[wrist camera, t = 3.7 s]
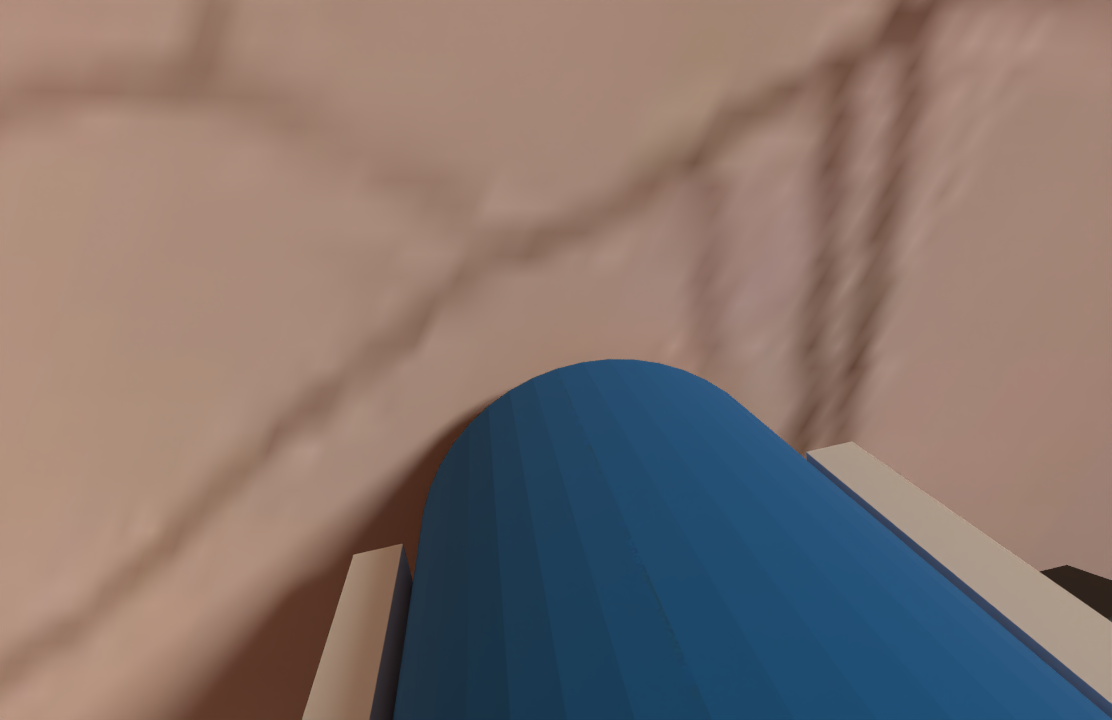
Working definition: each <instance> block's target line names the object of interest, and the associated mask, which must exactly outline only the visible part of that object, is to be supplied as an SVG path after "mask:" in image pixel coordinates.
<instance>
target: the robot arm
mask: <svg viewBox="0 0 1112 720" xmlns="http://www.w3.org/2000/svg"><path fill="white" fill-rule="evenodd" d="M806 455H807V461H808V462H809V463H811V464H812V465H813V466H814V467H815V468H816V469H818V470H819V471H820V472H821V473H822V474H824V475H825V476H826V477H827V478H828V479H829V480H831V481H832V482H833V483H834V484H835V485H837V486H838V487H839V488H840V489H841V490H842V491H844V492H845V493H846V494H847V495H848V496H850V497H851V498H852V499H853V500H854V501H855V502H857V503H858V504H859V505H860V506H861V507H862V508H864V509H865V510H866V511H867V512H868V513H870V514H871V515H872V516H873V517H874V518H875V519H877V520H878V521H879V522H880V523H881V524H883V525H884V526H885V527H886V528H887V529H888V530H890V531H891V532H892V533H893V534H894V535H896V536H897V537H898V538H899V539H900V540H901V541H903V542H904V543H905V544H906V545H907V546H908V547H910V548H911V549H912V550H913V551H914V552H916V553H917V554H918V555H919V556H920V557H921V558H923V559H924V560H925V561H926V562H927V563H929V564H930V565H931V566H932V567H933V568H934V569H936V570H937V571H938V572H939V573H940V574H942V575H943V576H944V577H945V578H946V579H947V580H949V581H950V582H951V583H952V584H953V585H954V586H956V587H957V588H958V589H959V590H960V591H962V592H963V593H964V594H965V595H966V596H967V597H969V598H970V599H971V600H972V601H973V602H975V603H976V604H977V605H978V606H979V607H980V608H982V609H983V610H984V611H985V612H986V613H988V614H989V615H990V616H991V617H992V618H993V619H995V620H996V621H997V622H998V623H999V624H1001V625H1002V626H1003V627H1004V628H1005V629H1006V630H1008V631H1009V632H1010V633H1011V634H1012V635H1013V636H1015V637H1016V638H1017V639H1018V640H1019V641H1021V642H1022V643H1023V644H1024V645H1025V646H1026V647H1028V648H1029V649H1030V650H1031V651H1032V652H1034V653H1035V654H1036V655H1037V656H1038V657H1039V658H1041V659H1042V660H1043V661H1044V662H1045V663H1047V664H1048V665H1049V666H1050V667H1051V668H1052V669H1054V670H1055V671H1056V672H1057V673H1058V674H1059V675H1061V676H1062V677H1063V678H1064V679H1065V680H1067V681H1068V682H1069V683H1070V684H1071V685H1072V686H1074V687H1075V688H1076V689H1077V690H1078V691H1080V692H1081V693H1082V694H1083V695H1084V696H1085V697H1087V698H1088V699H1089V700H1090V701H1091V702H1093V703H1094V704H1095V705H1096V706H1097V707H1098V708H1100V709H1101V710H1102V711H1103V712H1104V713H1105V714H1107V715H1108V716H1109V717H1110V718H1111V719H1112V580H1109V579H1106V578H1103V577H1100V576H1097V575H1094V574H1092V573H1089V572H1086V571H1083V570H1080V569H1077V568H1074V567H1071V566H1068V565H1065V566H1061V567H1057V568H1053V569H1048V570H1044V571H1040V572H1039V571H1037V570H1036V569H1035V568H1033V567H1032V566H1030V565H1029V564H1027V563H1026V562H1025V561H1023V560H1022V559H1020V558H1019V557H1017V556H1016V555H1015V554H1013V553H1012V552H1010V551H1009V550H1007V549H1006V548H1004V547H1003V546H1002V545H1000V544H999V543H997V542H996V541H994V540H993V539H992V538H990V537H989V536H987V535H986V534H984V533H983V532H981V531H980V530H979V529H977V528H976V527H974V526H973V525H971V524H970V523H969V522H967V521H966V520H964V519H963V518H961V517H960V516H958V515H957V514H956V513H954V512H953V511H951V510H950V509H948V508H947V507H946V506H944V505H943V504H941V503H940V502H938V501H937V500H935V499H934V498H933V497H931V496H930V495H928V494H927V493H925V492H924V491H923V490H921V489H920V488H918V487H917V486H915V485H914V484H913V483H911V482H910V481H908V480H907V479H905V478H904V477H902V476H901V475H900V474H898V473H897V472H895V471H894V470H892V469H891V468H890V467H888V466H887V465H885V464H884V463H882V462H881V461H879V460H878V459H877V458H875V457H874V456H872V455H871V454H869V453H868V452H867V451H865V450H864V449H862V448H861V447H859V446H858V445H856V444H855V443H854V442H848V443H843V444H839V445H835V446H830V447H826V448H821V449H817V450H813V451H808V452H806ZM412 586H413V581H412V577H411V573H410V569H409V566H408V562H407V558H406V554H405V550H404V547H403V544H399V545H394V546H390V547H385V548H381V549H377V550H372V551H368V552H363V553H359V554H354V555H353V558H352V561H351V565H350V568H349V571H348V574H347V577H346V581H345V584H344V587H343V590H342V593H341V596H340V600H339V603H338V606H337V609H336V612H335V616H334V619H333V622H332V625H331V628H330V631H329V635H328V638H327V641H326V644H325V647H324V651H323V654H322V657H321V660H320V663H319V667H318V670H317V673H316V676H315V679H314V682H313V686H312V689H311V692H310V695H309V698H308V702H307V705H306V708H305V711H304V714H303V718H302V720H393V716H394V709H395V702H396V695H397V689H398V682H399V675H400V668H401V661H402V654H403V647H404V641H405V634H406V627H407V620H408V613H409V606H410V599H411V593H412Z"/></svg>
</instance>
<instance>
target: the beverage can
mask: <svg viewBox="0 0 1112 720" xmlns="http://www.w3.org/2000/svg"><path fill="white" fill-rule="evenodd" d="M393 720H1112V719H1111V718H1110V717H1109V716H1108V715H1107V714H1105V713H1104V712H1103V711H1102V710H1101V709H1100V708H1098V707H1097V706H1096V705H1095V704H1094V703H1093V702H1091V701H1090V700H1089V699H1088V698H1087V697H1085V696H1084V695H1083V694H1082V693H1081V692H1080V691H1078V690H1077V689H1076V688H1075V687H1074V686H1072V685H1071V684H1070V683H1069V682H1068V681H1067V680H1065V679H1064V678H1063V677H1062V676H1061V675H1059V674H1058V673H1057V672H1056V671H1055V670H1054V669H1052V668H1051V667H1050V666H1049V665H1048V664H1047V663H1045V662H1044V661H1043V660H1042V659H1041V658H1039V657H1038V656H1037V655H1036V654H1035V653H1034V652H1032V651H1031V650H1030V649H1029V648H1028V647H1026V646H1025V645H1024V644H1023V643H1022V642H1021V641H1019V640H1018V639H1017V638H1016V637H1015V636H1013V635H1012V634H1011V633H1010V632H1009V631H1008V630H1006V629H1005V628H1004V627H1003V626H1002V625H1001V624H999V623H998V622H997V621H996V620H995V619H993V618H992V617H991V616H990V615H989V614H988V613H986V612H985V611H984V610H983V609H982V608H980V607H979V606H978V605H977V604H976V603H975V602H973V601H972V600H971V599H970V598H969V597H967V596H966V595H965V594H964V593H963V592H962V591H960V590H959V589H958V588H957V587H956V586H954V585H953V584H952V583H951V582H950V581H949V580H947V579H946V578H945V577H944V576H943V575H942V574H940V573H939V572H938V571H937V570H936V569H934V568H933V567H932V566H931V565H930V564H929V563H927V562H926V561H925V560H924V559H923V558H921V557H920V556H919V555H918V554H917V553H916V552H914V551H913V550H912V549H911V548H910V547H908V546H907V545H906V544H905V543H904V542H903V541H901V540H900V539H899V538H898V537H897V536H896V535H894V534H893V533H892V532H891V531H890V530H888V529H887V528H886V527H885V526H884V525H883V524H881V523H880V522H879V521H878V520H877V519H875V518H874V517H873V516H872V515H871V514H870V513H868V512H867V511H866V510H865V509H864V508H862V507H861V506H860V505H859V504H858V503H857V502H855V501H854V500H853V499H852V498H851V497H850V496H848V495H847V494H846V493H845V492H844V491H842V490H841V489H840V488H839V487H838V486H837V485H835V484H834V483H833V482H832V481H831V480H829V479H828V478H827V477H826V476H825V475H824V474H822V473H821V472H820V471H819V470H818V469H816V468H815V467H814V466H813V465H812V464H811V463H809V462H808V461H807V460H806V459H805V458H804V457H802V456H801V455H800V454H799V453H798V452H796V451H795V450H794V449H793V448H792V447H791V446H789V445H788V444H787V443H786V442H785V441H783V440H782V439H781V438H780V437H779V436H778V435H776V434H775V433H774V432H773V431H772V430H770V429H769V428H768V427H767V426H766V425H765V424H763V423H762V422H761V421H760V420H759V419H758V418H756V417H755V416H754V415H753V414H752V413H750V412H749V411H748V410H747V409H746V408H745V407H743V406H742V405H741V404H740V403H738V402H737V401H736V400H735V399H734V398H732V397H731V396H730V395H729V394H728V393H726V392H725V391H723V390H721V389H720V388H718V387H717V386H715V385H713V384H712V383H710V382H708V381H707V380H705V379H703V378H700V377H698V376H696V375H693V374H691V373H689V372H687V371H684V370H681V369H678V368H674V367H671V366H667V365H664V364H660V363H654V362H647V361H640V360H624V359H607V360H598V361H590V362H582V363H578V364H574V365H570V366H566V367H562V368H558V369H555V370H552V371H550V372H547V373H545V374H542V375H539V376H537V377H534V378H532V379H530V380H528V381H527V382H525V383H523V384H521V385H519V386H517V387H515V388H514V389H512V390H510V391H508V392H507V393H506V394H504V395H503V396H502V397H500V398H499V399H497V400H496V401H495V402H493V403H492V404H490V405H489V406H488V407H487V408H486V409H485V410H484V411H483V412H481V413H480V414H479V415H478V416H477V417H476V418H475V419H474V420H473V421H472V422H471V423H470V424H469V425H468V426H467V427H466V429H465V430H464V431H463V432H462V434H461V435H460V436H459V437H458V438H457V440H456V441H455V442H454V443H453V445H452V446H451V448H450V450H449V451H448V453H447V455H446V456H445V458H444V459H443V461H442V463H441V464H440V466H439V469H438V471H437V473H436V475H435V478H434V480H433V482H432V484H431V487H430V490H429V493H428V497H427V500H426V504H425V507H424V511H423V517H422V524H421V531H420V538H419V545H418V551H417V558H416V565H415V572H414V579H413V586H412V593H411V599H410V606H409V613H408V620H407V627H406V634H405V641H404V647H403V654H402V661H401V668H400V675H399V682H398V689H397V695H396V702H395V709H394V716H393Z"/></svg>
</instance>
